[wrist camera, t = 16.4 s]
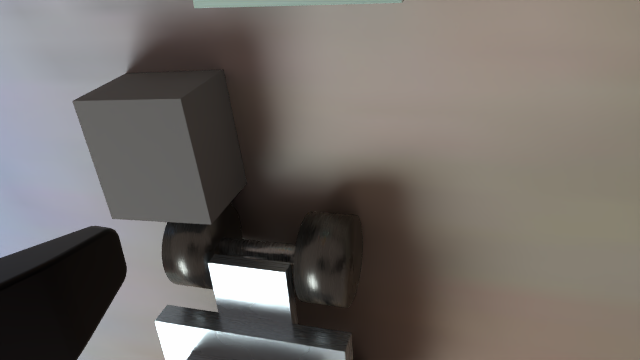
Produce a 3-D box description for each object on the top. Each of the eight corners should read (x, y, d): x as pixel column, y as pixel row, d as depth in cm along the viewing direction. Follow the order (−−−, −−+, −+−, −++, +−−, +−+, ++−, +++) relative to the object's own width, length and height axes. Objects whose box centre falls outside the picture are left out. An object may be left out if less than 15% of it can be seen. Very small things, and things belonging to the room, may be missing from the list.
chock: (225, 68, 22) (180, 98, 19) (248, 181, 24) (211, 224, 21) (128, 72, 23) (72, 100, 20) (158, 178, 25) (112, 218, 22)
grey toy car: (367, 199, 22) (324, 298, 17) (377, 407, 28) (346, 529, 23) (191, 185, 25) (106, 269, 19) (232, 379, 30) (175, 485, 25)
